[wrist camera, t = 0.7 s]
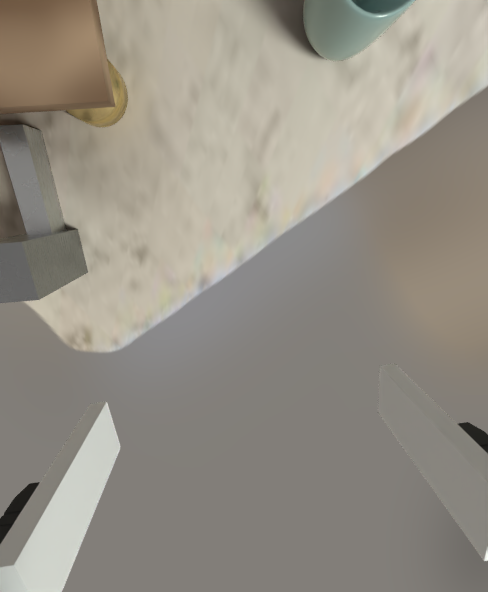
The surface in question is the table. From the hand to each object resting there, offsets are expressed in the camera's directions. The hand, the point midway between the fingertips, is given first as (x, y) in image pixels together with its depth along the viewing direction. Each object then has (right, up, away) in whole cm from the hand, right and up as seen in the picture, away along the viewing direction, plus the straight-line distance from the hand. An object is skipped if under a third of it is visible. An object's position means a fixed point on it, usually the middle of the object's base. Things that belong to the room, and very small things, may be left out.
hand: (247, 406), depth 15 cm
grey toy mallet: (-22, +15, +19) cm, 32 cm away
